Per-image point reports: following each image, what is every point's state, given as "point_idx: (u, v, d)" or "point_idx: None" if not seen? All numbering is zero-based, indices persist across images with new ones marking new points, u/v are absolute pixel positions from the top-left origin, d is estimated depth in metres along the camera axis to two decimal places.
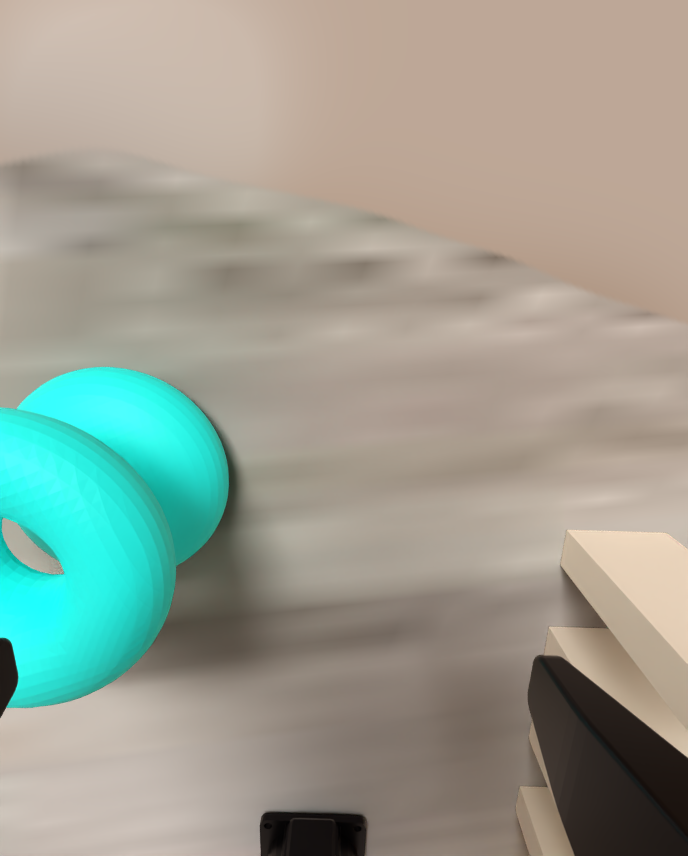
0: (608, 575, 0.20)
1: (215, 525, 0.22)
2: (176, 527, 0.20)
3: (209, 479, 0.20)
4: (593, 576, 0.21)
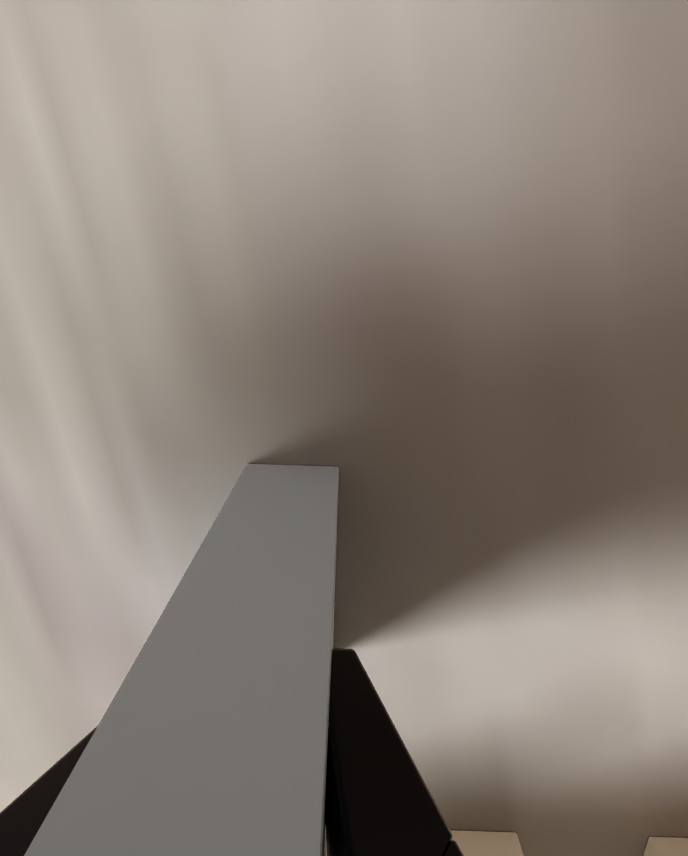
0: None
1: None
2: None
3: None
4: None
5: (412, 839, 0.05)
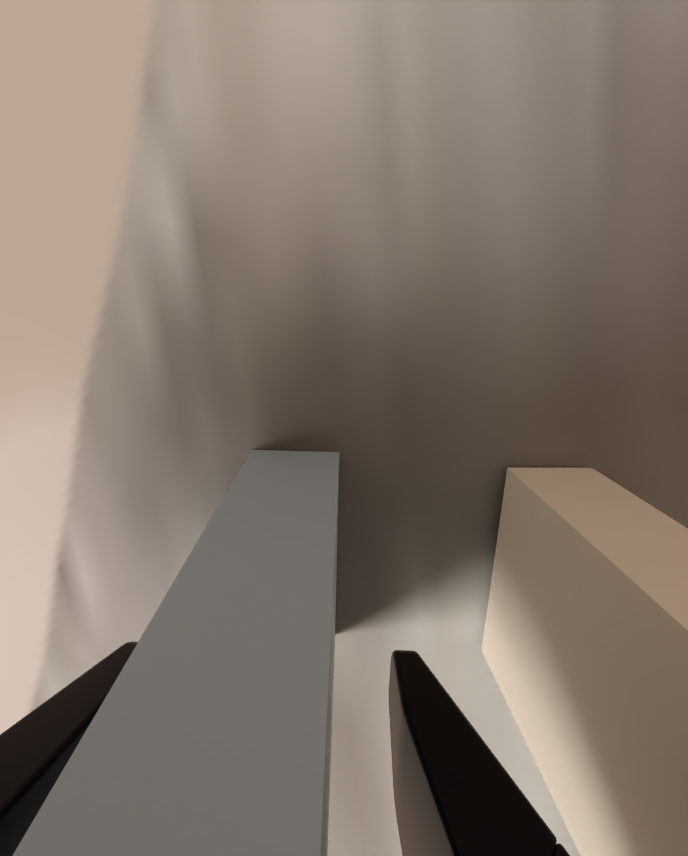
0: (559, 808, 0.08)
1: None
2: None
3: None
4: None
5: (519, 843, 0.05)
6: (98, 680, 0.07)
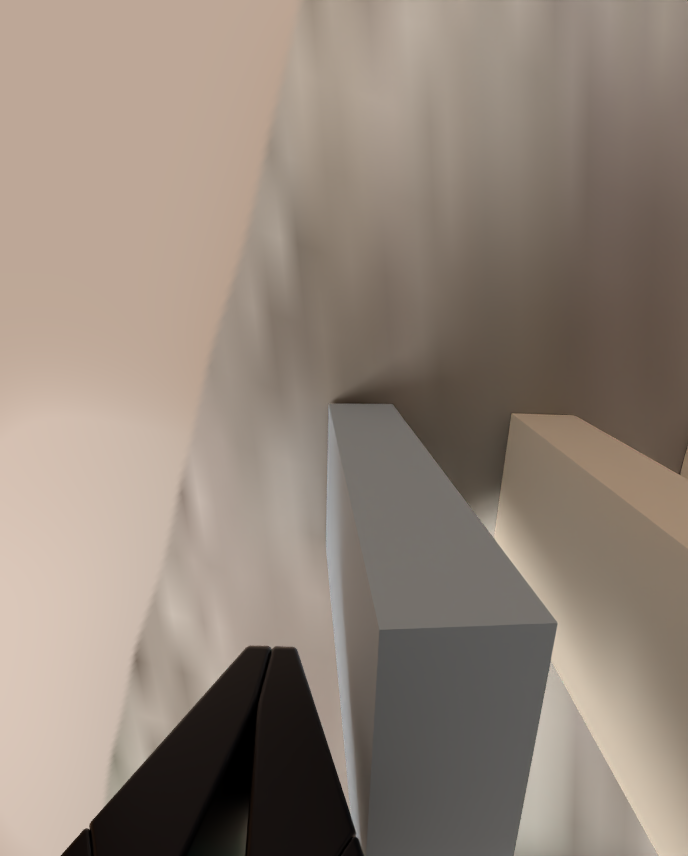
0: None
1: None
2: None
3: None
4: None
5: (314, 836, 0.05)
6: (236, 685, 0.07)
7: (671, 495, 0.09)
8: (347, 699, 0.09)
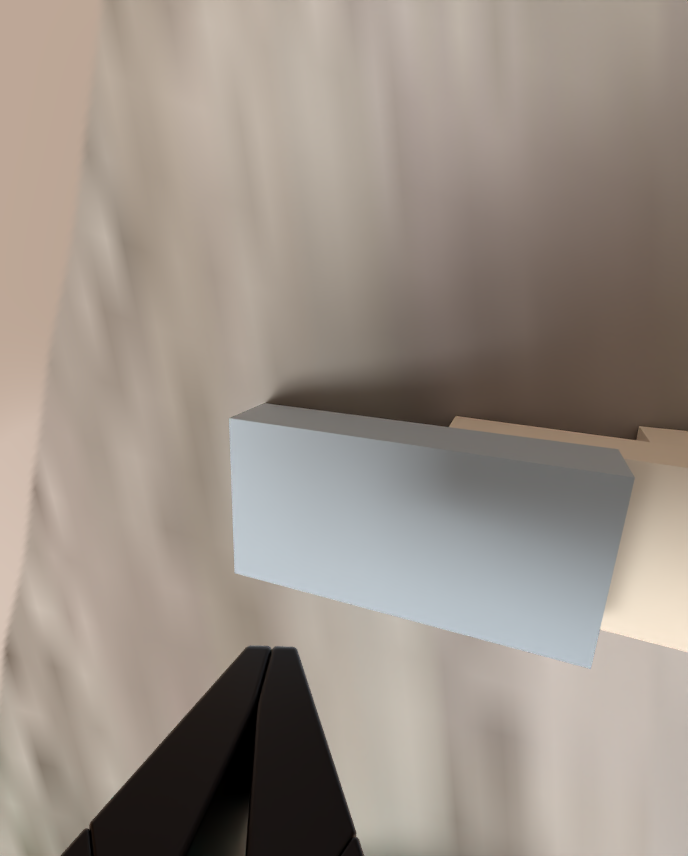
0: None
1: None
2: None
3: None
4: None
5: (314, 836, 0.05)
6: (236, 685, 0.07)
7: (683, 455, 0.12)
8: (489, 595, 0.12)
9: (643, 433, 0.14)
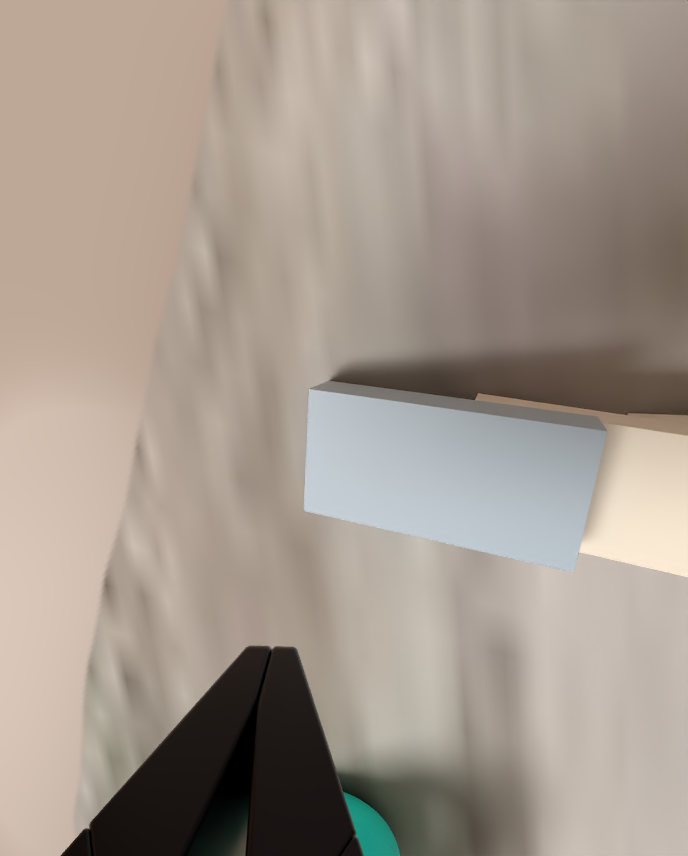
0: None
1: None
2: None
3: None
4: None
5: (313, 836, 0.05)
6: (236, 684, 0.07)
7: (648, 423, 0.17)
8: (502, 520, 0.16)
9: None
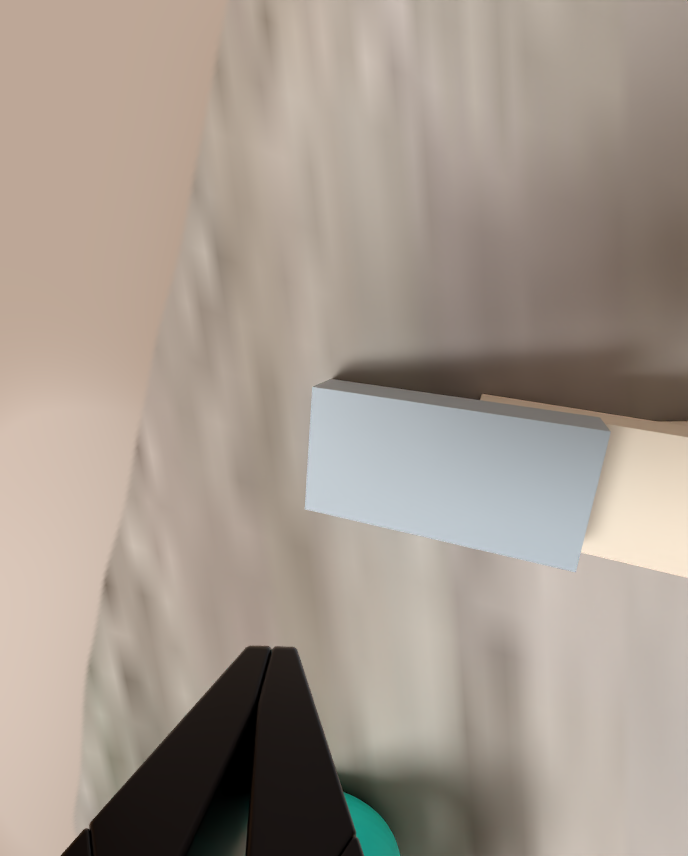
0: None
1: None
2: None
3: None
4: None
5: (313, 836, 0.05)
6: (236, 684, 0.07)
7: (651, 425, 0.17)
8: (505, 519, 0.16)
9: None
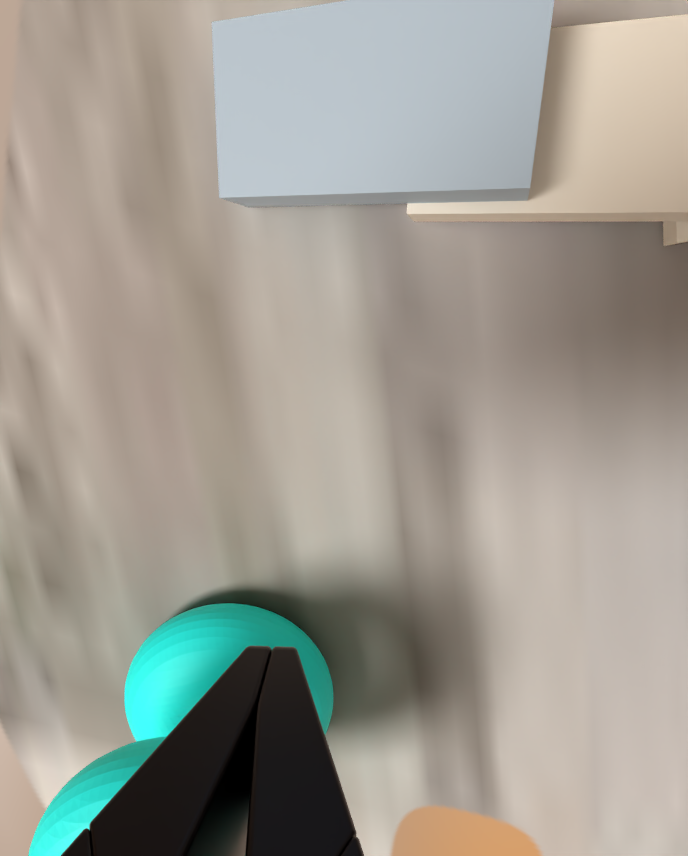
0: (525, 210, 0.15)
1: (270, 629, 0.21)
2: None
3: (209, 637, 0.21)
4: (495, 216, 0.16)
5: (314, 836, 0.05)
6: (236, 684, 0.07)
7: None
8: (443, 138, 0.14)
9: None
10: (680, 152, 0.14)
